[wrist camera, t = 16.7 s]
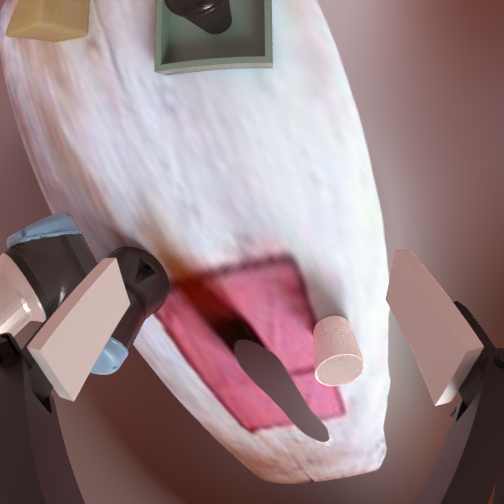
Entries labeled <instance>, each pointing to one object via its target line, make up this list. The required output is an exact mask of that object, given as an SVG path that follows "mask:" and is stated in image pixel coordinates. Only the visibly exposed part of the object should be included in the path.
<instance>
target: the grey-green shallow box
mask: <svg viewBox="0 0 504 504" xmlns="http://www.w3.org/2000/svg"><path fill="white" fill-rule="evenodd" d="M229 2H230V9H231V16H232V23H231V26H230V27H229V28H228V29H227V30H226V31H225V32H223V33H220V34H210V33H207V32H206V31H204V30H203V29H201V28H200V27H198V26H197V25H195V24H193V23H192V22H190V21H189V20H187V19H186V18H184V17H180V16H177V15H175V14H173V13H172V12H171V11H170V10H169V9H168V8H167V7H166V5H165V2H164V0H157V4H156V23H155V72H157V73H160V74H164V75H172V74H179V73H188V72H197V71H208V70H223V69H246V68H273V59H272V1H271V0H229Z"/></svg>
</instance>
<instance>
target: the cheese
mask: <svg viewBox="0 0 504 504" xmlns="http://www.w3.org/2000/svg"><path fill="white" fill-rule="evenodd" d="M88 13H89V0H19V2H18V4H17V6H16V8H15V10H14V13H13V15H12V18H11V20H10V23H9V25H8V28H7V31H6V36H7V37H17V38H27V39H36V40H44V41H51V42H59V41H64V40H69V39H74V38H79V37H83V36H85V35H86V34H87V32H88Z"/></svg>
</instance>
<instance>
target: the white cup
mask: <svg viewBox="0 0 504 504" xmlns="http://www.w3.org/2000/svg"><path fill="white" fill-rule="evenodd" d="M313 335H314V343H313V344H314V366H315V377H316V379H317V380H318V381H319V382H320V383H322V384H324V385H327V386H341V385H345V384H348V383H350V382H352V381H354V380H356V379H357V378H358V377H359V376H360V375H361V374H362V373H363V371H364V368H365V363H364V360H363V357H362V355H361V352H360V349H359V346H358V343H357V340H356V338H355V335H354V333H353V331H352V329H351V326H350V323H349V322H348V321H347V319H346V318H344V317H341V316H328V317H325V318H323V319H321V320H320V321H319V322H318V323H317V324H316V325H315V327H314V330H313Z"/></svg>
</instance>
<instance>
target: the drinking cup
mask: <svg viewBox="0 0 504 504" xmlns="http://www.w3.org/2000/svg"><path fill="white" fill-rule="evenodd" d="M164 2H165V5H166V7H167V8H168V9H169V10H170V11H171V12H172V13H173V14H175V15H177V16H180V17H184V18H186V19H187V20H189V21H190V22H192V23H193V24H195V25H197V26H198V27H200V28H201V29H203V30H204V31H206V32H207V33H210V34H220V33H223V32H225V31H226V30H227V29H228V28H229V27H230V26H231V23H232V16H231V9H230V2H229V0H164Z"/></svg>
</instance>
